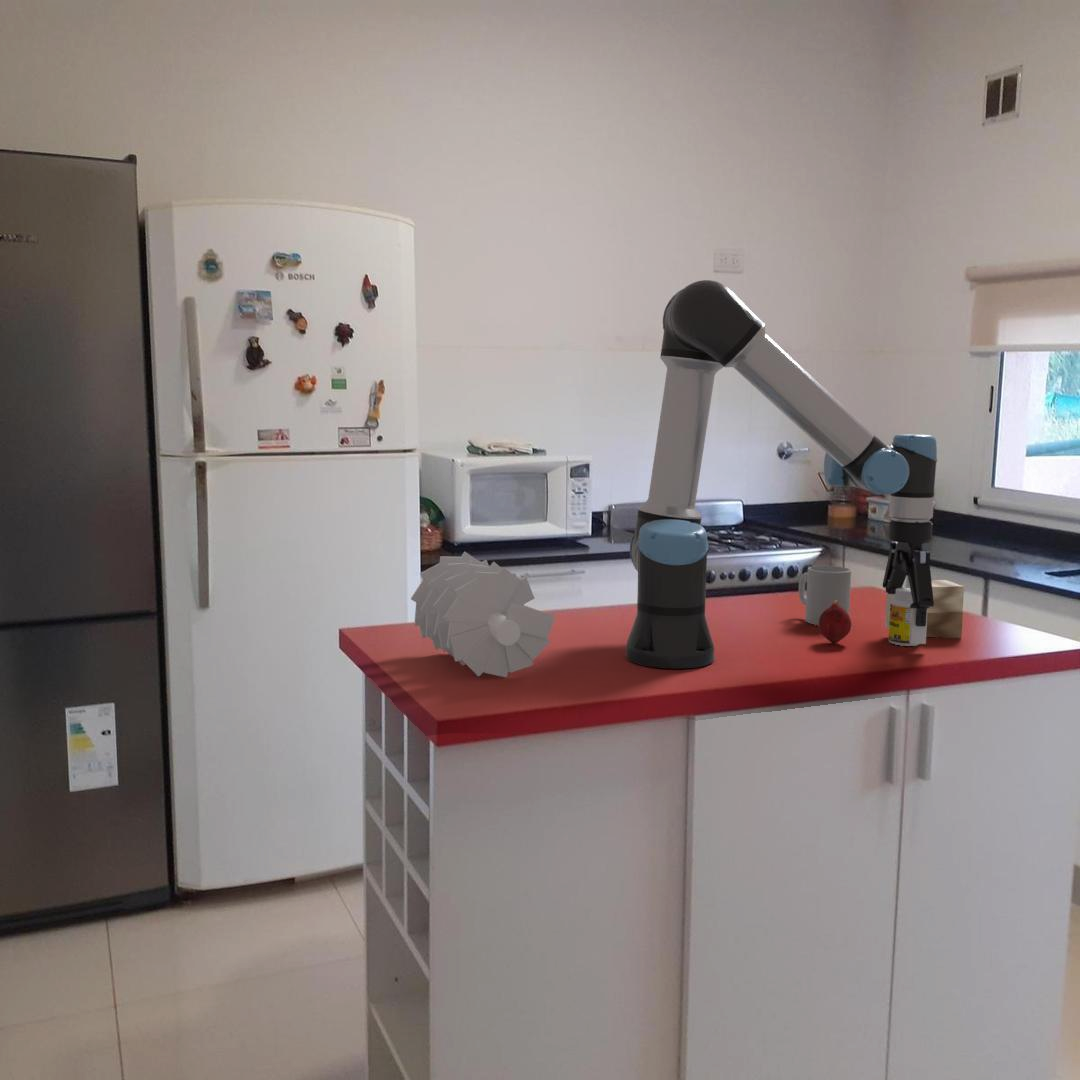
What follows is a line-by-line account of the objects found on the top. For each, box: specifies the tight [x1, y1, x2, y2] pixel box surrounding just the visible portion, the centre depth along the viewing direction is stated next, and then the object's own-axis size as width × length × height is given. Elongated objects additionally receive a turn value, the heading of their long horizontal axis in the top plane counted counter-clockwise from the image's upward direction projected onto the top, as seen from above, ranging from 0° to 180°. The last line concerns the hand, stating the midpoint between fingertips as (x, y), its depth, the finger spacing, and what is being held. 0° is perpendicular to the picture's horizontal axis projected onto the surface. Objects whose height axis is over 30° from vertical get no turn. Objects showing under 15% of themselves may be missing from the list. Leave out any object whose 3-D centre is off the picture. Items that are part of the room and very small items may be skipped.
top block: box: [928, 579, 965, 613], centre depth 210 cm, size 7×7×5 cm
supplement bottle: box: [888, 587, 920, 647], centre depth 201 cm, size 6×6×10 cm
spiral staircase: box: [410, 551, 556, 678], centre depth 183 cm, size 18×18×25 cm
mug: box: [798, 565, 852, 626], centre depth 221 cm, size 12×8×11 cm
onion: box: [818, 601, 852, 644], centre depth 201 cm, size 6×6×8 cm
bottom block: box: [926, 612, 964, 639], centre depth 211 cm, size 8×8×5 cm
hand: (904, 635), depth 202 cm, fingers open, 12 cm apart
